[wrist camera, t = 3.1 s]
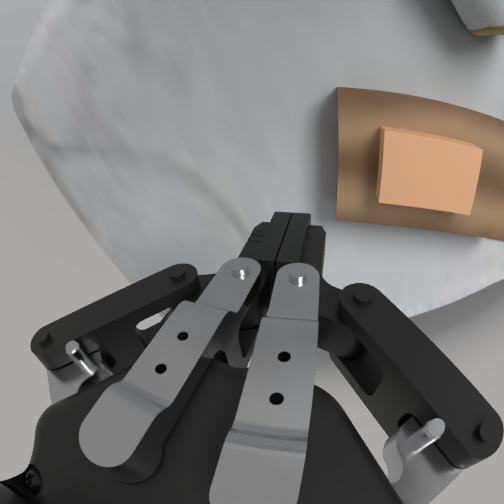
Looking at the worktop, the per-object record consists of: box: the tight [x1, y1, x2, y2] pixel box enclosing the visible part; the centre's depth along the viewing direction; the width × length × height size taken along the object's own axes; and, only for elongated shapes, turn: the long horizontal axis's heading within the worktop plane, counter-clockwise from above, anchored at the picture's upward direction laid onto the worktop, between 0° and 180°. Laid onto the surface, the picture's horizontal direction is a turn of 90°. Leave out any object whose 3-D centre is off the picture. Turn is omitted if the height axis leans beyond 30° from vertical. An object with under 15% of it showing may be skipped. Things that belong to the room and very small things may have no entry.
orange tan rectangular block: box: [376, 126, 483, 215], centre depth 18 cm, size 6×9×2 cm, turn 95°
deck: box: [336, 87, 504, 240], centre depth 20 cm, size 12×20×4 cm, turn 95°
